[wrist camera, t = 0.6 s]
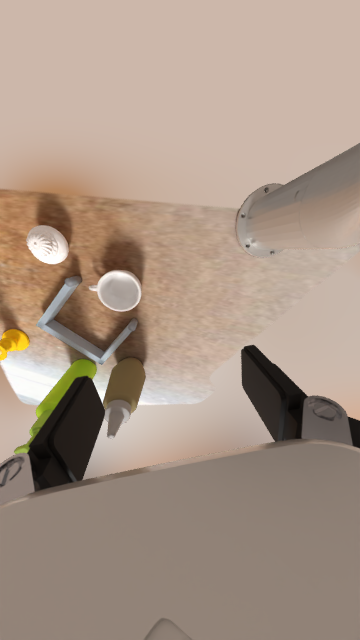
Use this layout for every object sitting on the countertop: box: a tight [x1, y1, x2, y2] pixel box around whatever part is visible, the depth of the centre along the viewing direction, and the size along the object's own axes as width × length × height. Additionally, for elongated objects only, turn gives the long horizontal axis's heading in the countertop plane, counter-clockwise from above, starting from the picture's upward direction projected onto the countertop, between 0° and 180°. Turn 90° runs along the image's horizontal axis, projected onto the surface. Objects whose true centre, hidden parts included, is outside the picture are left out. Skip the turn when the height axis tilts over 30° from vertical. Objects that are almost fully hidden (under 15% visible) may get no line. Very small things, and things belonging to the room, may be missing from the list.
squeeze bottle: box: [103, 357, 146, 439], centre depth 36 cm, size 8×8×18 cm
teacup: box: [89, 270, 141, 311], centre depth 34 cm, size 10×8×5 cm
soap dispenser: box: [14, 359, 97, 454], centre depth 34 cm, size 6×7×20 cm
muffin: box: [26, 225, 69, 264], centre depth 30 cm, size 6×6×7 cm
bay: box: [36, 276, 138, 365], centre depth 37 cm, size 13×16×4 cm
